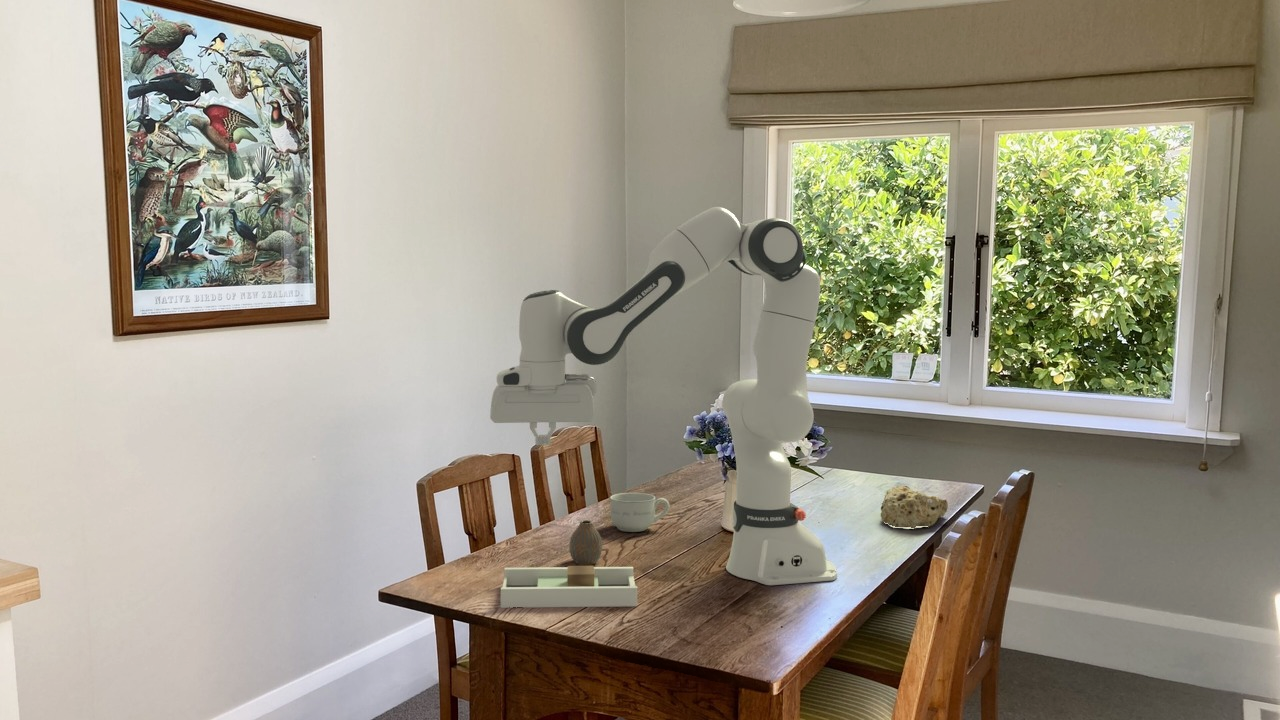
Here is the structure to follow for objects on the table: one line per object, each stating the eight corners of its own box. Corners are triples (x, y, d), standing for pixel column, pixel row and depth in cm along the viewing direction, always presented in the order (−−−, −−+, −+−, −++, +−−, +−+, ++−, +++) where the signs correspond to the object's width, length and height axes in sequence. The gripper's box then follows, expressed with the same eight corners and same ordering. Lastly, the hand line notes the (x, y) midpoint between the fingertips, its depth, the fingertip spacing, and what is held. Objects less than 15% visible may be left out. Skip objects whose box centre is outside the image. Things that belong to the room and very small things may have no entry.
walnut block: (593, 580, 187) (593, 565, 187) (594, 589, 182) (594, 574, 182) (567, 581, 187) (567, 565, 186) (567, 590, 182) (567, 574, 181)
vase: (572, 568, 200) (573, 527, 199) (566, 558, 206) (566, 518, 205) (605, 566, 202) (606, 525, 201) (597, 556, 208) (598, 516, 207)
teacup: (604, 533, 225) (604, 499, 224) (616, 521, 236) (616, 488, 235) (662, 538, 222) (663, 504, 221) (672, 525, 232) (673, 493, 232)
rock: (889, 511, 253) (901, 475, 252) (944, 532, 247) (956, 495, 245) (868, 521, 235) (881, 482, 234) (926, 544, 228) (940, 504, 227)
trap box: (632, 584, 191) (633, 566, 191) (637, 606, 180) (637, 587, 179) (504, 585, 189) (504, 567, 189) (500, 607, 178) (500, 589, 177)
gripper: (595, 371, 193) (595, 440, 194) (491, 372, 191) (491, 442, 192) (596, 376, 186) (596, 447, 188) (489, 377, 184) (490, 448, 186)
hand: (543, 444), depth 190 cm, fingers closed
